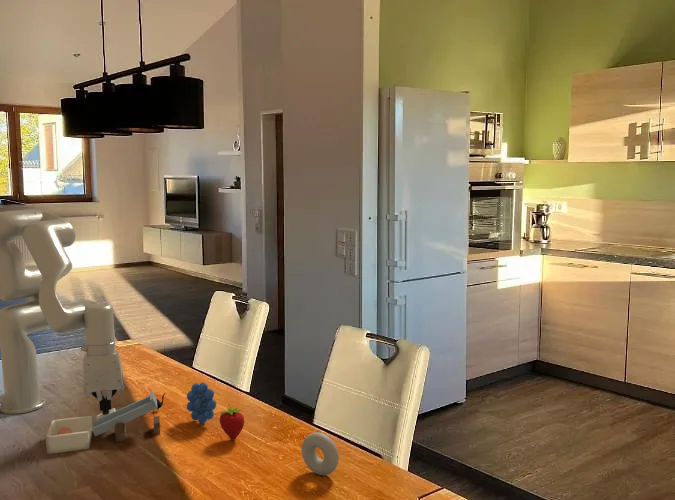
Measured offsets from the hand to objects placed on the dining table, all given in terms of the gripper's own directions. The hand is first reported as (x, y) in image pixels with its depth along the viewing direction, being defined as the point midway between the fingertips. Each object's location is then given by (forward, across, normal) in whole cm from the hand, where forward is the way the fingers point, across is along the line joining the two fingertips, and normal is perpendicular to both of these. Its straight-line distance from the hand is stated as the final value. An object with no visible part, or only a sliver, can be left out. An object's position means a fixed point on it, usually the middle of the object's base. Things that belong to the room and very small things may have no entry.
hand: (106, 412), depth 182 cm
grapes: (+4, +26, -6) cm, 27 cm away
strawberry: (+4, +32, -21) cm, 39 cm away
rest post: (+4, +13, -8) cm, 16 cm away
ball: (+2, -10, -8) cm, 13 cm away
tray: (+4, -8, -8) cm, 13 cm away
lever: (0, +6, -5) cm, 8 cm away
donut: (+4, +50, -47) cm, 69 cm away
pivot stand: (+4, +4, -8) cm, 10 cm away
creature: (+4, +12, +8) cm, 15 cm away
